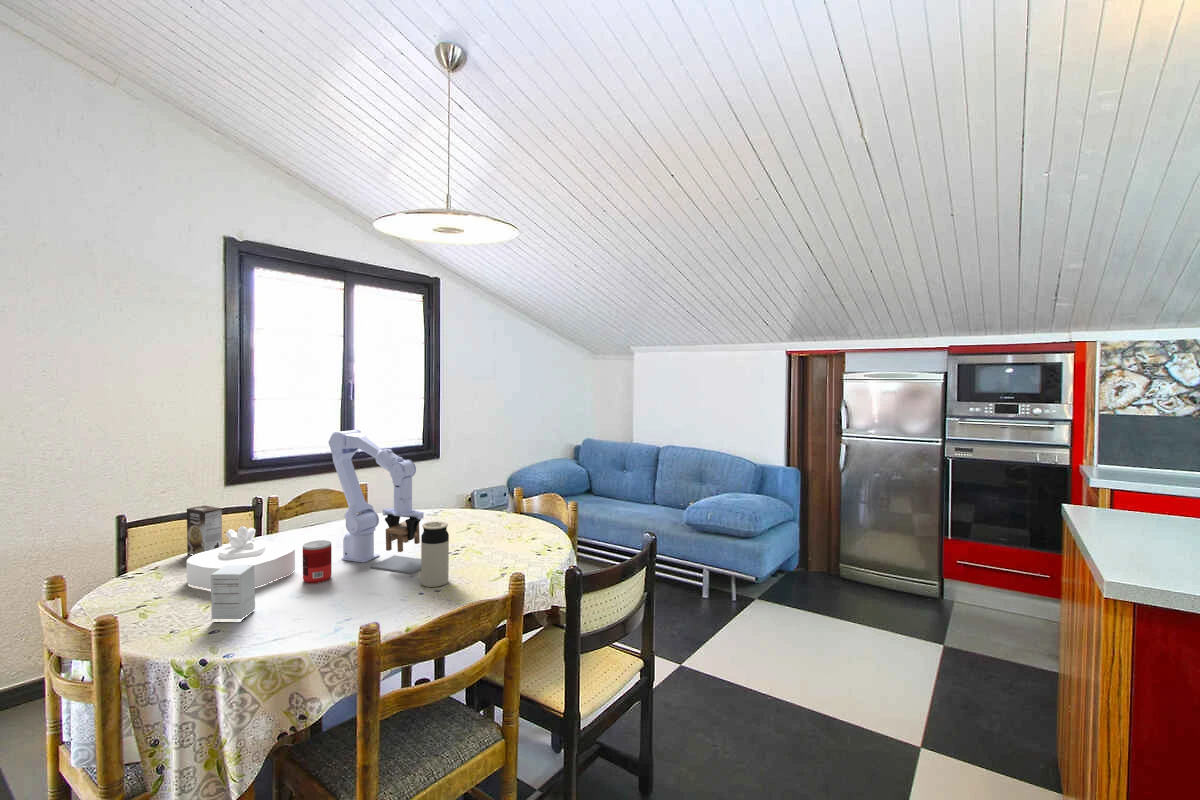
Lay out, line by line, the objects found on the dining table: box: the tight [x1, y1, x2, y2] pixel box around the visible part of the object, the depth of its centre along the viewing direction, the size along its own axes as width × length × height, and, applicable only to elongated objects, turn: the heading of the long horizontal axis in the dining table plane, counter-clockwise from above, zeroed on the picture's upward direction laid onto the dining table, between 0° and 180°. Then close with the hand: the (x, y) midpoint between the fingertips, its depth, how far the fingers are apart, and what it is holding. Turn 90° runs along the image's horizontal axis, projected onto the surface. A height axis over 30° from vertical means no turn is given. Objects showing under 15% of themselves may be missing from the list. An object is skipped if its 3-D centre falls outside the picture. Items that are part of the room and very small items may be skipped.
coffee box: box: [186, 504, 223, 555], centre depth 199 cm, size 9×6×16 cm
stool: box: [385, 520, 421, 553], centre depth 192 cm, size 10×6×7 cm, turn 162°
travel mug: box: [420, 520, 450, 588], centre depth 176 cm, size 8×8×18 cm
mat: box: [370, 554, 421, 575], centre depth 192 cm, size 16×12×1 cm
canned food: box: [302, 539, 332, 584], centre depth 178 cm, size 8×8×11 cm
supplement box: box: [210, 565, 256, 620], centre depth 150 cm, size 7×7×13 cm
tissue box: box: [185, 525, 296, 589], centre depth 179 cm, size 25×25×16 cm
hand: (402, 538), depth 192 cm, fingers closed on stool, 6 cm apart
